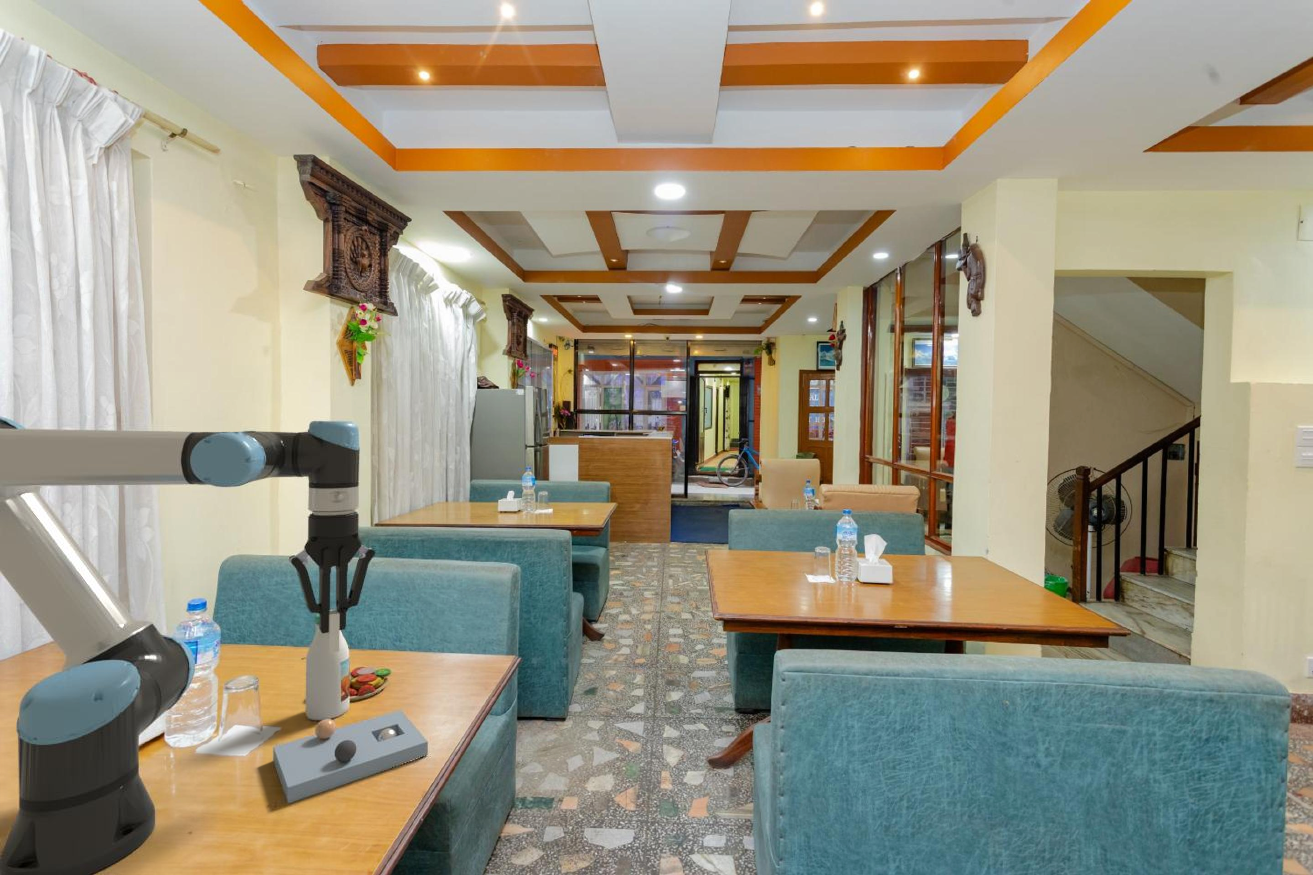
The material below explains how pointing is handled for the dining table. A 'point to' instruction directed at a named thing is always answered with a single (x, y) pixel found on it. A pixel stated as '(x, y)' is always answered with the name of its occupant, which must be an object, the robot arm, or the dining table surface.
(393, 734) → the steel ball
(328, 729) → the terracotta ball
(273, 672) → the dining table surface
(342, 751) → the black ball
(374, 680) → the toy food set
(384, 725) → the board
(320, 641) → the milk bottle
